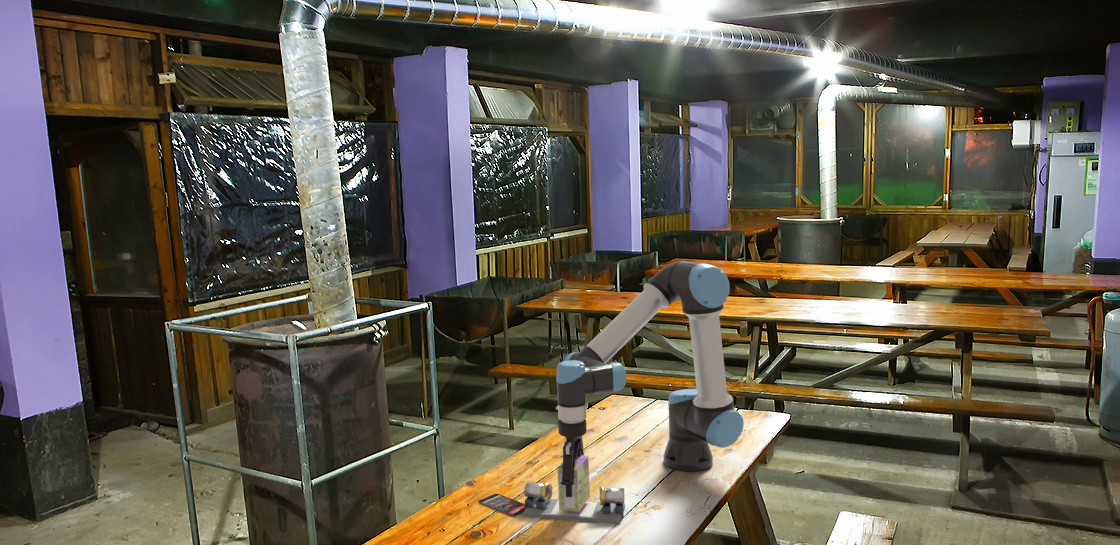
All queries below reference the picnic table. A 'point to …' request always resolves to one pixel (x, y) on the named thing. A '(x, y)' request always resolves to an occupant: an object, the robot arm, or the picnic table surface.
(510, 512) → the smartphone
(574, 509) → the box
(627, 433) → the picnic table surface
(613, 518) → the bed
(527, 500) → the shaft
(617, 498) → the shaft
